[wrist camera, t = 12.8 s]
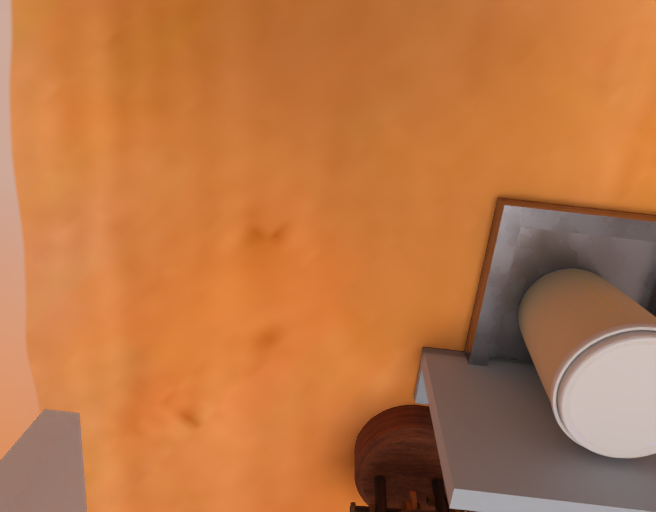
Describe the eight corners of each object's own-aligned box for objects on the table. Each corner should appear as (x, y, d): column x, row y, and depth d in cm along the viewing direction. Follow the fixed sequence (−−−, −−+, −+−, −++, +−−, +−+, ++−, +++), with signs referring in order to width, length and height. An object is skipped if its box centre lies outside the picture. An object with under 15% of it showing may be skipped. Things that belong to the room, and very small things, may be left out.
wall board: (423, 346, 47) (454, 488, 32) (682, 376, 46) (835, 532, 32) (413, 396, 49) (439, 551, 34) (663, 424, 48) (800, 594, 33)
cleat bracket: (497, 197, 42) (504, 205, 40) (695, 219, 42) (711, 227, 40) (464, 351, 47) (468, 364, 45) (641, 371, 47) (652, 385, 45)
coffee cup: (584, 377, 47) (656, 482, 35) (485, 336, 46) (527, 431, 34) (649, 284, 43) (751, 368, 32) (544, 239, 42) (612, 309, 31)
